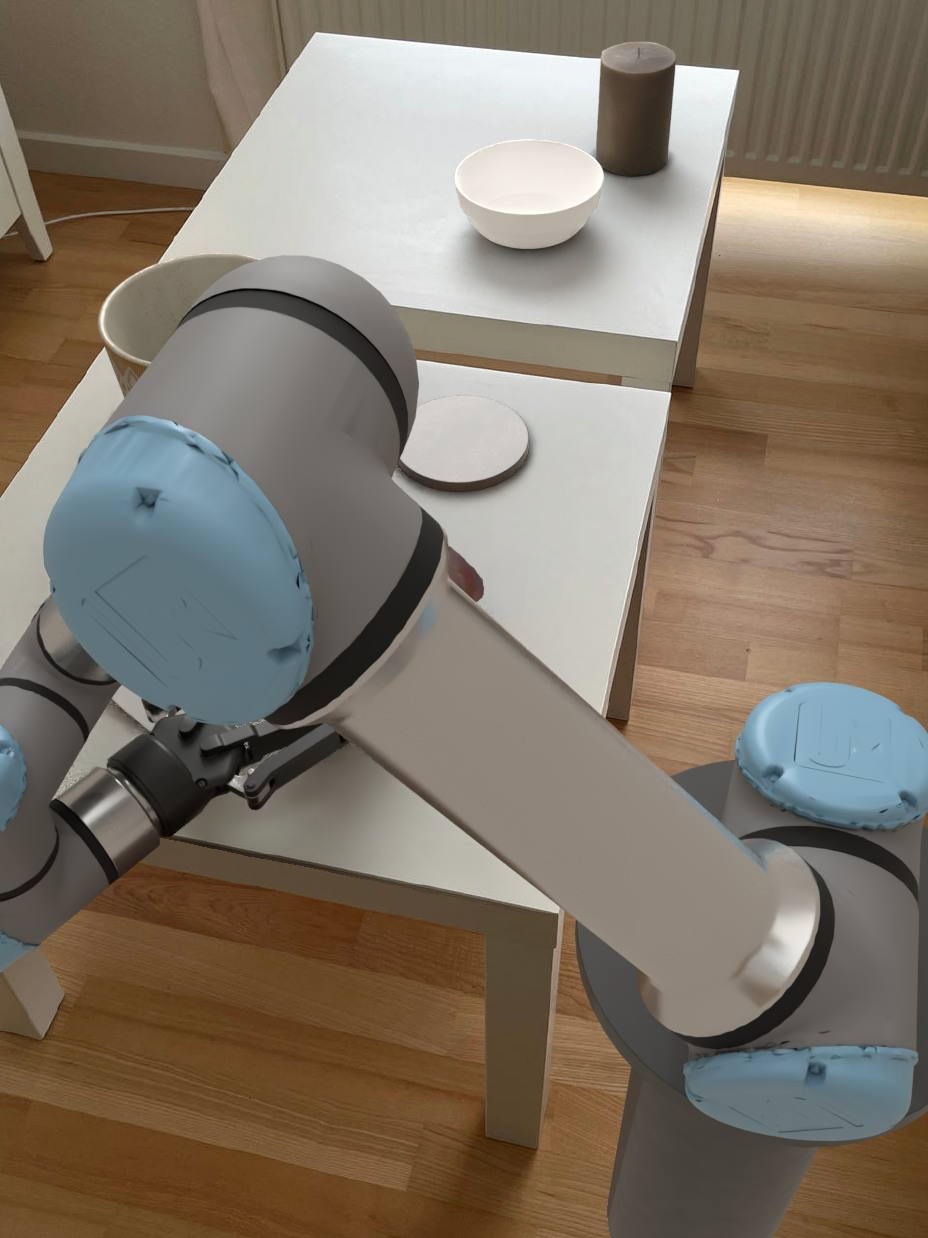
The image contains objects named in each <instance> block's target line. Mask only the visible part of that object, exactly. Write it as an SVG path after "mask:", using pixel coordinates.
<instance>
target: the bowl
mask: <svg viewBox="0 0 928 1238" xmlns="http://www.w3.org/2000/svg"><path fill="white" fill-rule="evenodd" d="M604 182H605V175H604V170H603V167H602V166H600V164H599V163H598V162H597V159H596V157H594V156H592V155H591V154H589V153H588V152H587V151H584V150H582V149H580V148H579V147H576V146H573V145H570V144H567V143H563V142H559V141H553V140H545V139H514V140H506V141H502V142H501V141H500V142H497V143H494V144H493V143H492V144H490V145H486V146H484V147H482V148H479V149H478V150H475V151H473V152H471V153H470V154H469V155H467V156H466V157H464V158H463V159H462V160H461V161H460V162H459V164H458V165H457V168H456V169H455V171H454V177H453V183H454V186H455V191H456V195H457V196H456V197H457V200H458V203H459V206H460V209H461V210H462V211H463V213H464V214H465V215H466V216H467V220H468V221H469V222H470V225H471V226H472V227H473V228H474V229H475V230H476V231H477V232H478V233H480V234H481V236H483V238H485V239H487V240H489V241H490V242H492V243H495V244H498V245H500V246H504V247H507V248H512V249H520V250H521V249H522V250H530V249H532V250H533V249H534V250H535V249H544V248H548V247H552V246H556V245H559V244H562V243H564V242H566V241H568V240H569V239H571V238H572V237H573V236H574V235H576V234H577V233H578V232H579V231H580V230H581V229H582V228H583V227H584V226H585V225H586V223H588V221H589V219H590V216H591V215H592V214H593V213H594V211H595V210H596V209H597V207H598V204H599V201H600V198H601V193H602V190H603V187H604Z"/></svg>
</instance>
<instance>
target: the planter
mask: <svg viewBox="0 0 928 1238" xmlns="http://www.w3.org/2000/svg"><path fill="white" fill-rule="evenodd" d="M261 259H262V258H260V257H257V256H253V255H248V254H241V253H233V252H202V253H194V254H188V255H182V256H178V257H174V258H169V259H166V260H163V261H160V262H157V263H154V264H151V265H149V266H147V267H145V268H143V269H141V270H139V271H137V272H135V273H133V274H132V275H130V276H129V277H127V278H125V279H124V280H123V281H121V282H120V283H119V284H118V285H117V286H116V287H114V289H112V291H111V292H110V293H109V294H108V295H107V297H106V298H105V300H103V303H102V304H101V307H100V309H99V311H98V316H97V329H98V333H99V335H100V338H101V341H102V343H103V346H104V348H105V352H106V353H107V356H108V359H109V362H110V365H111V367H112V370H113V373H114V375H115V377H116V380H117V382H118V385H119V388H120V391H121V393H122V397H123V399H124V398H125V397H126V396H127V394H128V393H129V392H130V390H131V389H132V388H133V386H134V385H135V384H136V382H137V381H138V380H139V378H140V377H141V376H142V374H143V373H144V372H145V370H146V369H147V368H148V366H149V365H150V364H151V362H152V361H153V360H154V358H155V357H156V356H157V354H158V353H159V352H160V350H161V349H162V348H163V346H164V345H165V344H166V342H167V341H168V340H169V338H170V337H171V335H172V334H173V333H174V331H175V330H176V328H177V326H178V325H179V323H180V321H181V320H182V318H183V317H184V316H185V314H186V313H187V312H188V310H189V309H190V308H191V306H192V305H193V304H194V302H195V301H196V300H197V299H198V298H199V297H200V296H201V295H202V294H203V293H204V292H205V291H206V290H207V289H208V288H209V287H210V286H211V285H212V284H214V283H215V282H216V281H217V280H219V279H220V278H222V277H223V276H224V275H226V274H227V273H229V272H231V271H233V270H235V269H237V268H239V267H240V266H242V265H245V264H248V263H251V262H254V261H257V260H261Z"/></svg>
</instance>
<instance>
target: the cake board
mask: <svg viewBox="0 0 928 1238" xmlns="http://www.w3.org/2000/svg"><path fill="white" fill-rule="evenodd" d="M529 449H530V433H529V429H528V426H527V424H526V423H525V421H524V419H523V418H522V417H521V415H519V414H518V412H517V411H515V410H514V409H513V408H511V407H510V406H507V404H504V403H502V402H499V401H497V400H494V399H491V398H487V397H483V396H476V395H450V396H444V397H438V398H435V399H432V400H430V401H427V402H424V403H421V404H420V405H417V410H416V418H415V421H414V424H413V427H412V430H411V433H410V436H409V439H408V441H407V443H406V445H405V448H404V451H403V453H402V455H401V457H400V459H399V461H398V464H397V466H399V468H400V469H401V470H402V472H404V474H406V475H407V476H408V477H409V478H411V480H413V481H415V482H417V483H419V484H421V485H423V486H425V487H429V488H432V489H436V490H440V491H447V492H470V491H471V492H472V491H479V490H483V489H486V488H490V487H493V486H495V485H498V484H500V483H502V482H504V481H505V480H507V479H509V478H510V477H512V476H513V475H515V474H516V472H518V471H519V470H520V468H522V466H523V464H524V463H525V461H526V459H527V457H528V455H529Z"/></svg>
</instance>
